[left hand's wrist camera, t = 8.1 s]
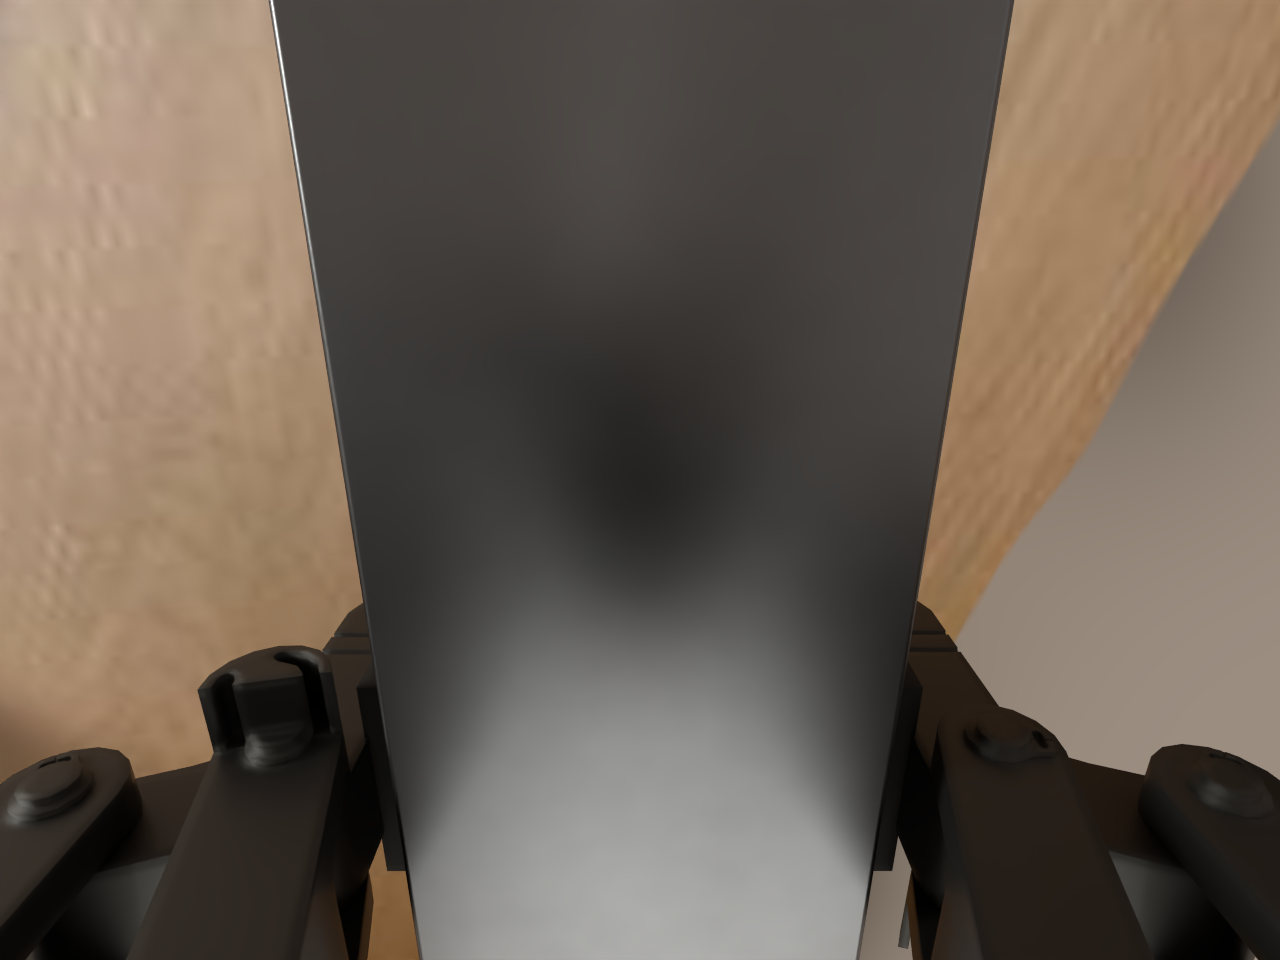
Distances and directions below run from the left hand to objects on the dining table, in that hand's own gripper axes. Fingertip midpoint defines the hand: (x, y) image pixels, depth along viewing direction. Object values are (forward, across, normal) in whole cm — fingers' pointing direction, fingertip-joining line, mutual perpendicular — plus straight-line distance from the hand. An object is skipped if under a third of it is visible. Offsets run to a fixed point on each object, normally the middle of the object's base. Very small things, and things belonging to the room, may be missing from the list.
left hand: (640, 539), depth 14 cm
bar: (+1, 0, -13) cm, 13 cm away
